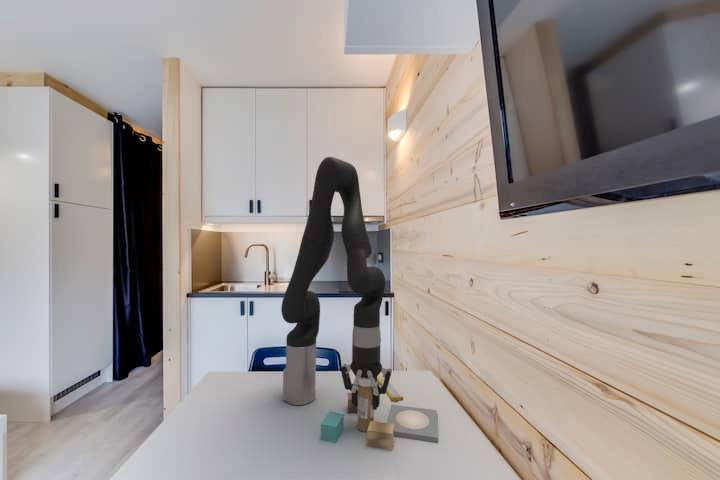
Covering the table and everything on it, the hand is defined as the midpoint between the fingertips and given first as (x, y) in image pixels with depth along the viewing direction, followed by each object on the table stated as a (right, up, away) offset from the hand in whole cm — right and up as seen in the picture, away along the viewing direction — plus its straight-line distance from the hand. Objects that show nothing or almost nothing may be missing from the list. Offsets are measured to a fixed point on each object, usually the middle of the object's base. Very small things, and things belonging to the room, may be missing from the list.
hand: (365, 406), depth 80 cm
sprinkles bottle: (0, -6, 0) cm, 6 cm away
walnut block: (-2, -6, +9) cm, 11 cm away
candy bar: (+8, -7, +21) cm, 24 cm away
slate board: (+13, -6, +1) cm, 14 cm away
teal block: (-8, -5, -3) cm, 11 cm away
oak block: (+4, -5, -7) cm, 9 cm away
